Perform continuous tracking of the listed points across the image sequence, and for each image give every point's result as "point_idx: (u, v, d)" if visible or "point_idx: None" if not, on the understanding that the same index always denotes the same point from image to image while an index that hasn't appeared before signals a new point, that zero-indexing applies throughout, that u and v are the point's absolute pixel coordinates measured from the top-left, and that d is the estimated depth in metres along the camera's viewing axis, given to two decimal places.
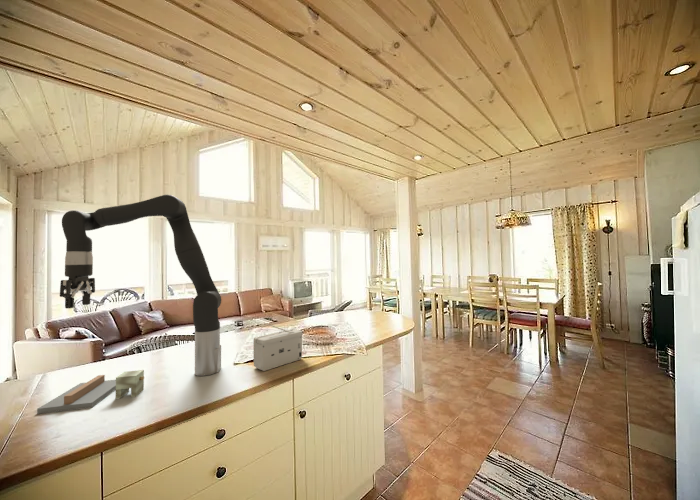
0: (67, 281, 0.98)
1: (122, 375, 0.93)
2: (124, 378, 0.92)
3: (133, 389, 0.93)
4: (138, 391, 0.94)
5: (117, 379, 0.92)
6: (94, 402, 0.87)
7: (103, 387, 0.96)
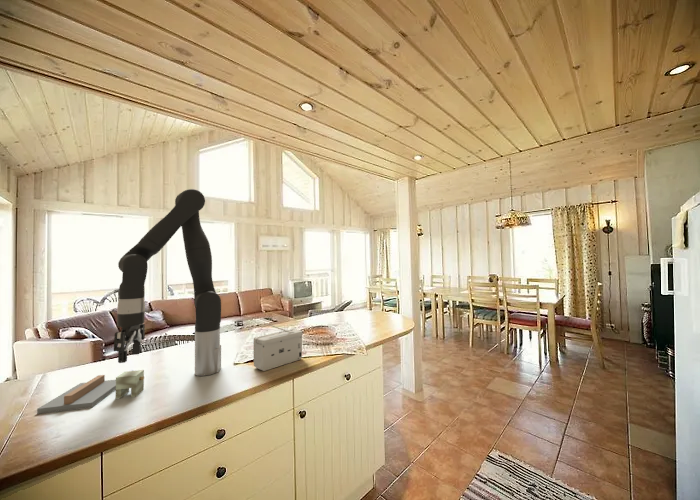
0: (121, 334, 0.89)
1: (122, 375, 0.93)
2: (124, 378, 0.92)
3: (133, 389, 0.93)
4: (138, 391, 0.94)
5: (117, 379, 0.92)
6: (94, 402, 0.87)
7: (103, 387, 0.96)
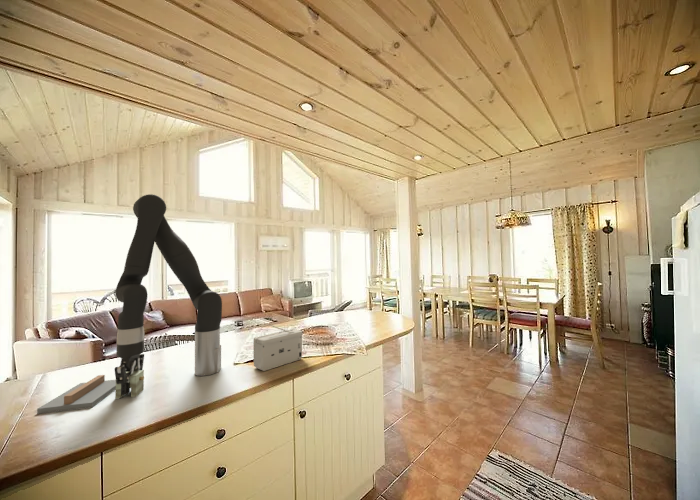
0: (121, 369, 0.89)
1: None
2: None
3: (133, 389, 0.93)
4: (138, 391, 0.94)
5: None
6: (94, 402, 0.87)
7: (103, 387, 0.96)
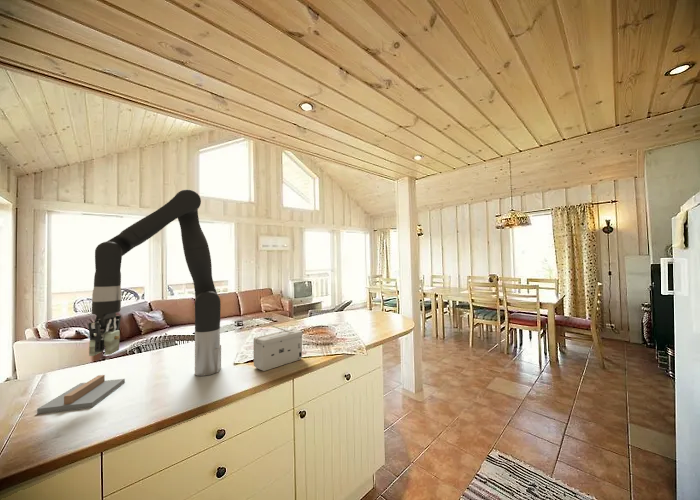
0: (95, 324, 0.88)
1: None
2: None
3: (108, 347, 0.92)
4: (113, 350, 0.94)
5: None
6: (94, 402, 0.87)
7: (103, 387, 0.96)
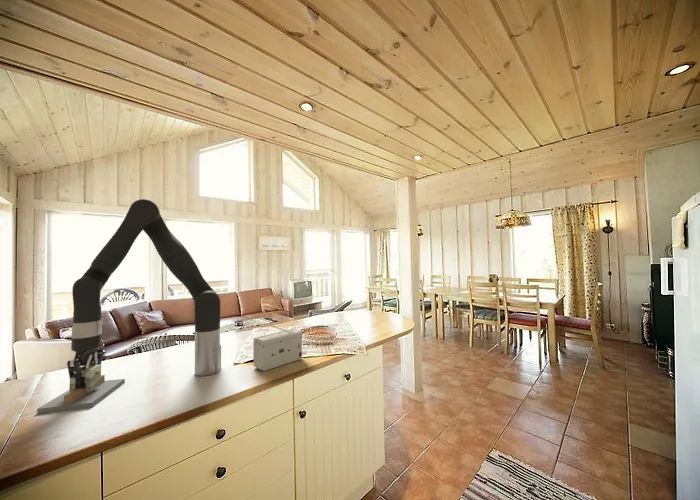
0: (74, 363, 0.87)
1: None
2: None
3: (88, 384, 0.91)
4: (94, 385, 0.93)
5: None
6: (94, 402, 0.87)
7: (103, 387, 0.96)
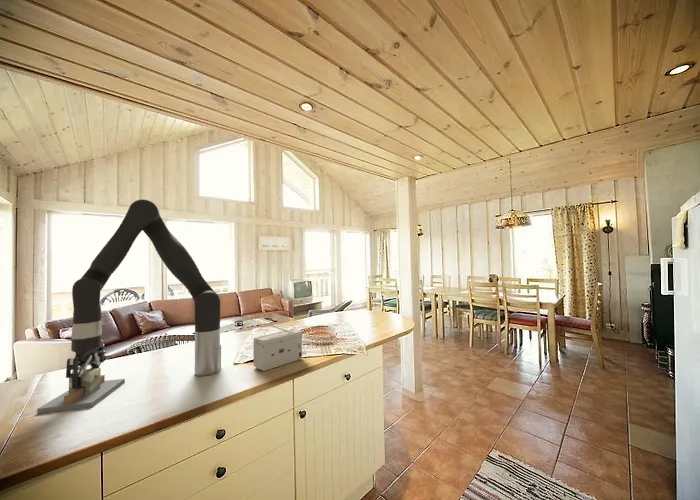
0: (74, 360, 0.87)
1: None
2: None
3: (87, 387, 0.91)
4: (93, 389, 0.93)
5: None
6: (94, 402, 0.87)
7: (103, 387, 0.96)
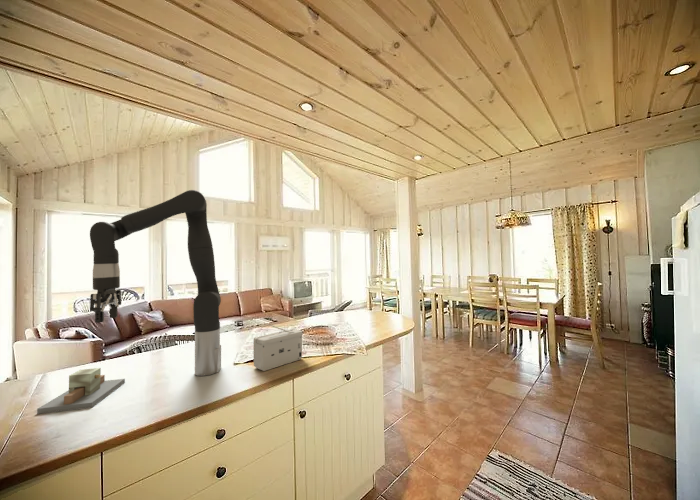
0: (97, 295, 0.95)
1: (76, 373, 0.92)
2: (78, 376, 0.91)
3: (87, 387, 0.91)
4: (93, 389, 0.93)
5: (70, 377, 0.90)
6: (94, 402, 0.87)
7: (103, 387, 0.96)
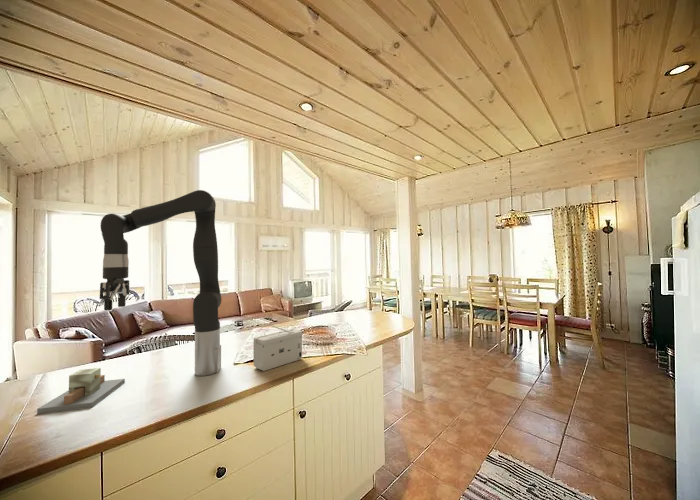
0: (106, 283, 0.99)
1: (76, 373, 0.92)
2: (78, 376, 0.91)
3: (87, 387, 0.91)
4: (93, 389, 0.93)
5: (70, 377, 0.90)
6: (94, 402, 0.87)
7: (103, 387, 0.96)
